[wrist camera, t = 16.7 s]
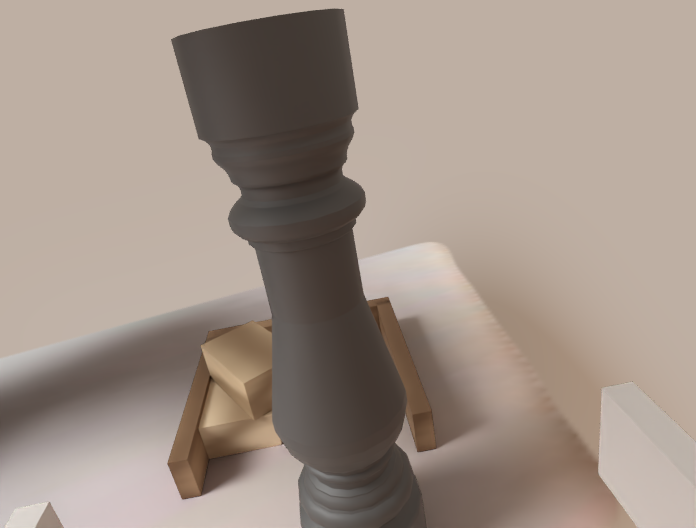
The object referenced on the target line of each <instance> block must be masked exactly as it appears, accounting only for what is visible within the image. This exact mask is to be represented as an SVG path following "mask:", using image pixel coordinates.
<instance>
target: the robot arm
mask: <svg viewBox="0 0 696 528" xmlns="http://www.w3.org/2000/svg"><path fill="white" fill-rule="evenodd" d="M598 474H599V476H600V477H601V479H602V480H603V481H604V483H605V484H606V485H607V487H608V488H609V489H610V491H611V492H612V493H613V495H614V496H615V498H616V499H617V500H618V502H619V503H620V504H621V506H622V507H623V508H624V510H625V511H626V513H627V514H628V515H629V517H630V518H631V519H632V521H633V522H634V523H635V525H636V526H637V528H696V441H695V440H694V439H693V438H692V437H691V436H690V435H689V434H687V432H685V431H684V430H683V429H682V428H681V427H680V426H679V425H678V424H677V423H676V422H675V421H674V420H673V419H672V418H671V417H670V416H669V415H668V414H667V413H666V412H664V411H663V410H662V409H661V408H660V407H659V406H658V405H657V404H656V403H655V402H654V401H653V400H652V399H651V398H650V397H649V396H648V395H647V394H646V393H645V392H643V391H642V390H641V389H640V388H639V387H638V386H637V385H636V384H635V383H634V382H628V383H623V384H618V385H613V386H608V387H603V388H602V395H601V417H600V441H599V465H598ZM4 528H64V527H63V526H62V524H61V522H60V520H59V518H58V516H57V515H56V513H55V511H54V509H53V507H52V506H51V504H50V502H44V503H39V504H34V505H29V506H25V507H20V508H16V509H15V510H14V512H13V514H12V515H11V517H10V519H9V520H8V522H7V523H6V525H5V527H4Z"/></svg>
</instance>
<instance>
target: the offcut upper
mask: <svg viewBox="0 0 696 528" xmlns="http://www.w3.org/2000/svg"><path fill="white" fill-rule="evenodd" d="M201 348H202V351H203V355H204V358H205V361H206V364H207V367H208V370H209V373H210V376H211V379H212V380H213V381H214V382H215V383H216V384H217V385H218V386H219V387H220V388H221V389H222V390H224V391H225V392H226V393H227V394H228V395H229V396H230V397H231V398H232V399H233V400H234V401H235V402H236V403H237V404H238V405H239V406H240V407H241V408H242V409H243V410H244V411H245V412H246V413H247V414H248V415H249V416H250V417H251V418H252V419H253V420H254V421H255V420H257V419H258V418H260V417H262V416H263V415H265V414H267V413H268V412H270V411H272V333H271V332H269V331H268V330H266V329H265V328H263V327H262V326H260V325H259V324H257V323H256V322H254V321H251V322H248V323H246V324H244V325H242V326H240V327H238V328H236V329H234V330H232V331H230V332H228V333H225V334H223V335H221V336H219V337H217V338H215V339H213V340H211V341H209V342H207V343H205V344H203V345H201Z"/></svg>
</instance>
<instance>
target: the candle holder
mask: <svg viewBox="0 0 696 528" xmlns="http://www.w3.org/2000/svg"><path fill="white" fill-rule="evenodd" d="M171 41H172V44H173V48H174V52H175V55H176V59H177V62H178V66H179V69H180V73H181V77H182V80H183V84H184V87H185V91H186V95H187V98H188V101H189V105H190V108H191V113H192V116H193V120H194V123H195V127H196V130H197V134H198V138H199V139H201V140H203V141H206V142H207V143H208V144H209V145H210V147H211V150H212V157H213V160H214V161H215V162H216V163H217V164H218V165H219V166H220V167H221V168H223V169H224V170H225V171H226V172H227V174H228V175H229V177H230V180H231V182H232V183H233V184H235V185H237V186H238V187H239V188H240V190H241V194H242V196H241V198H240V199H239V200H238V201H237V202H236V203H235V204H234V206H233V207H232V209H231V211H230V213H229V217H228V220H229V224H230V227H231V229H232V231H233V232H234V233H235V234H236V235H238V236H239V237H241V238H242V239H245V240H247V241H248V242H249V245H251V246H252V247H253V248H255V250H256V254H257V258H258V261H259V265H260V269H261V273H262V277H263V281H264V285H265V289H266V293H267V297H268V301H269V304H270V308H271V312H272V422H273V426H274V429H275V432H276V433H277V435H278V436H279V438H280V439H281V441H282V442H283V443H284V445H285V446H286V448H287V449H288V450H289V452H290V453H291V455H292V456H294V457H295V458H296V459H298V460H299V461H300V462H302V463H304V467H303V470H302V472H301V475H300V477H299V480H298V485H299V500H300V519H301V527H302V528H426V521H425V514H424V507H423V501H422V494H421V491H420V489H419V486H418V483H417V480H416V477H415V475H414V474H413V471H412V468H411V465H410V462H409V459H408V456H407V454H406V453H405V452H404V451H403V450H402V449H401V448H400V447H399V446H398V445H397V444H396V443H395V441H396V440H397V438H398V436H399V434H400V432H401V430H402V426H403V421H404V416H405V412H406V406H407V395H406V390H405V387H404V385H403V382H402V380H401V377H400V375H399V373H398V370H397V368H396V366H395V364H394V361H393V359H392V357H391V355H390V352H389V350H388V348H387V346H386V344H385V341H384V339H383V337H382V335H381V332H380V330H379V328H378V325H377V323H376V321H375V319H374V316H373V314H372V312H371V309H370V307H369V305H368V303H367V300H366V298H365V296H364V293H363V288H362V282H361V276H360V271H359V265H358V259H357V253H356V248H355V241H354V235H353V230H352V228H353V227H354V225H355V224H356V218H357V216H359V214H360V213H361V211H362V210H363V208H364V207H365V203H366V198H365V192H364V190H363V189H362V187H361V186H360V185H359V184H357V183H356V182H355V181H353V180H351V179H349V178H347V177H345V176H343V174H342V166H343V164H344V163H345V162H346V160H347V149H348V145H349V143H350V142H351V140H352V138H353V134H354V128H353V126H352V122H351V119H352V116H353V114H354V113H355V112H356V110H358V102H357V96H356V89H355V82H354V76H353V69H352V62H351V56H350V49H349V43H348V36H347V30H346V22H345V16H344V10H343V9H325V10H315V11H307V12H299V13H292V14H285V15H278V16H272V17H266V18H260V19H254V20H249V21H243V22H237V23H232V24H227V25H223V26H218V27H213V28H208V29H203V30H199V31H195V32H191V33H188V34H184V35H180V36H177V37H175V38H173V39H171Z"/></svg>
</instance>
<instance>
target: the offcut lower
mask: <svg viewBox="0 0 696 528" xmlns="http://www.w3.org/2000/svg"><path fill="white" fill-rule="evenodd" d="M198 429H199V432H200V435H201V438H202V440H203V443H204V446H205V449H206V451H207V454H208V457H209V459H212V458H217V457H222V456H227V455H232V454H237V453H243V452H248V451H253V450H258V449H263V448H268V447H273V446H278V445H282V441H281V439H280V438H279V436H278V435H277V433H276V432H275V429H274V426H273V422H272V411H270V412H268V413H267V414H265V415H263V416H262V417H260V418H258V419H257V420H255V421H254V420H253V419H252V418H251V417H250V416H249V415H248V414H247V413H246V412H245V411H244V410H243V409H242V408H241V407H240V406H239V405H238V404H237V403H236V402H235V401H234V400H233V399H232V398H231V397H230V396H229V395H228V394H227V393H226V392H225V391H224V390H222V389H221V388H220V387H219V386H218V385H217V384H216V383H215V382H214V381H213V380H212V379H211V382H210V386H209V390H208V394H207V397H206V401H205V405H204V409H203V413H202V417H201V420H200V424H199V428H198Z"/></svg>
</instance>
